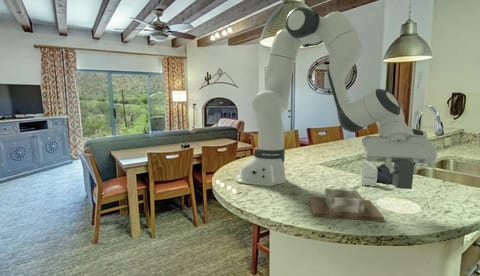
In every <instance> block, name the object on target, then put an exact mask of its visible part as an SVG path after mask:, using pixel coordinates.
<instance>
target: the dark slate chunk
mask: <svg viewBox="0 0 480 276" xmlns="http://www.w3.org/2000/svg"><path fill="white" fill-rule="evenodd" d="M376 168H377V169H378V171H377V181H379V182H378V183H381V182H382V184H385V183H387V184H386V185H390V184H392V181H393V174H392V173H390V169H389V168H388V167H387V166H386V165H385V164H384V163H382V164H381V165H378V166H377V167H376ZM374 174H375V173H374Z"/></svg>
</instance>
